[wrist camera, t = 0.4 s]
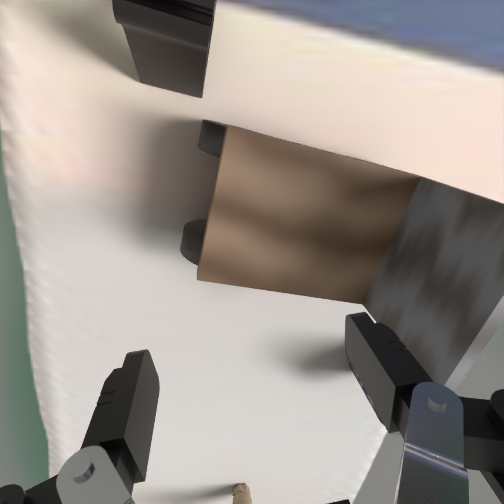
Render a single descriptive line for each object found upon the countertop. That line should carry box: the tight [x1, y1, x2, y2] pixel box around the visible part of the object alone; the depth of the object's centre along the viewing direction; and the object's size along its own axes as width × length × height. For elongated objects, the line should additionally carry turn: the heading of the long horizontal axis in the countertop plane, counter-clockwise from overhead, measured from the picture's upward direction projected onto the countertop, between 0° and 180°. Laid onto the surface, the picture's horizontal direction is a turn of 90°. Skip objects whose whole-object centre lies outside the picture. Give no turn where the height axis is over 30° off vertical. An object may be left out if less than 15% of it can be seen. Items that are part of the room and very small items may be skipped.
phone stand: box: [112, 0, 217, 98], centre depth 25 cm, size 9×6×12 cm, turn 166°
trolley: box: [180, 120, 504, 392], centre depth 28 cm, size 14×23×22 cm, turn 76°
